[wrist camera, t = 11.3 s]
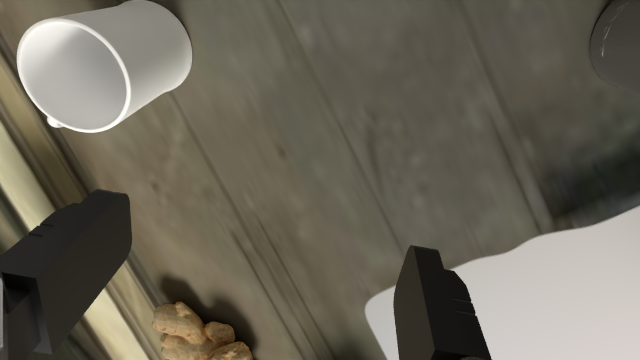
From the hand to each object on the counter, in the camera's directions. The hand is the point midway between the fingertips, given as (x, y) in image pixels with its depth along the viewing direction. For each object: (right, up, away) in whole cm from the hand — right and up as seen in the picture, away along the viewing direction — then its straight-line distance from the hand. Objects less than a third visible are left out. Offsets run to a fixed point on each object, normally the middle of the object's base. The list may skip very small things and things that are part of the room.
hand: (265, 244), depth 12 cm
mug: (-16, +14, +29) cm, 35 cm away
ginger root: (-13, -21, +46) cm, 53 cm away
